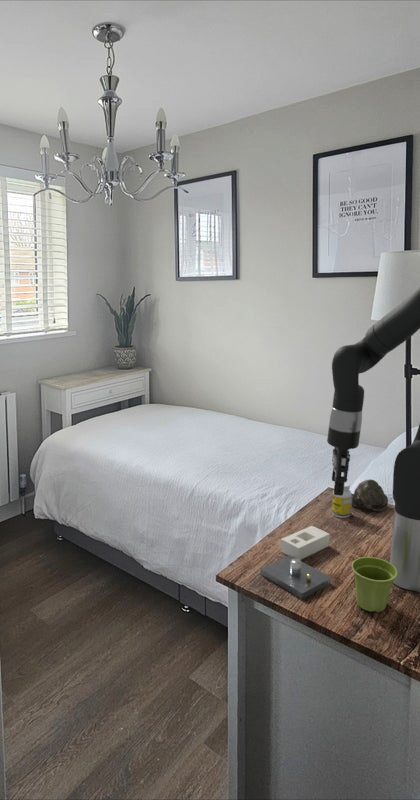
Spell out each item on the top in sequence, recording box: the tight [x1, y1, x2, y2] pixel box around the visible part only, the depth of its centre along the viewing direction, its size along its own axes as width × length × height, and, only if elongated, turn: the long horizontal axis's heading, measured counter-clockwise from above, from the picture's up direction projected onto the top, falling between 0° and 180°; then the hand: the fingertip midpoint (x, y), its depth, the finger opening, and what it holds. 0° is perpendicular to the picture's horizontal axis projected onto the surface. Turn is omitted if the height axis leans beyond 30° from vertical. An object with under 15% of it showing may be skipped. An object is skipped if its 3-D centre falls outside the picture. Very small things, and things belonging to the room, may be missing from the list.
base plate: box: [260, 555, 332, 600], centre depth 122 cm, size 13×10×4 cm
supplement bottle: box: [331, 482, 353, 519], centre depth 155 cm, size 5×5×10 cm
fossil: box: [351, 479, 389, 513], centre depth 161 cm, size 11×9×10 cm
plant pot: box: [351, 556, 398, 613], centre depth 112 cm, size 9×9×9 cm
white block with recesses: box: [280, 525, 331, 561], centre depth 136 cm, size 12×6×4 cm, turn 128°
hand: (337, 487), depth 131 cm, fingers open, 8 cm apart
